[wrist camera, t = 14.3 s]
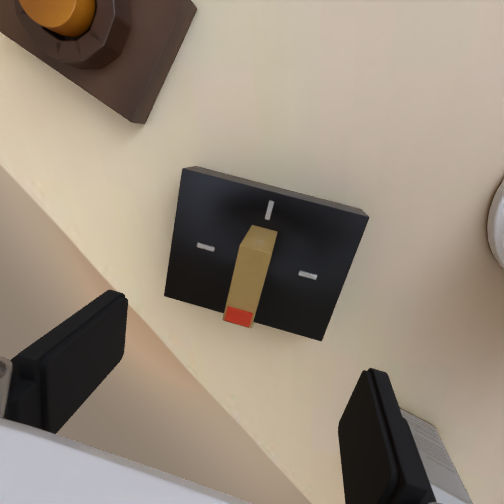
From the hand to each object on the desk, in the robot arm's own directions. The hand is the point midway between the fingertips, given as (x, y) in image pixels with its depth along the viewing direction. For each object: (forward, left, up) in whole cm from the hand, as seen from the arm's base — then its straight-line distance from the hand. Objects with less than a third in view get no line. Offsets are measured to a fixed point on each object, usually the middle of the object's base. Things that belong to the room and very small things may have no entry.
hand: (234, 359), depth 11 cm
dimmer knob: (0, +1, -12) cm, 13 cm away
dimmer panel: (0, +1, -16) cm, 16 cm away
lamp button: (+19, -10, -12) cm, 24 cm away
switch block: (+19, -10, -16) cm, 26 cm away
